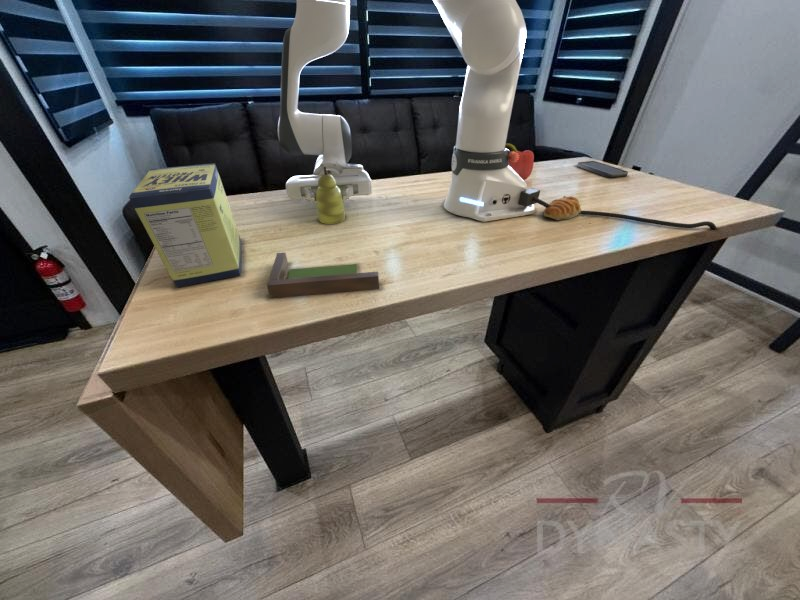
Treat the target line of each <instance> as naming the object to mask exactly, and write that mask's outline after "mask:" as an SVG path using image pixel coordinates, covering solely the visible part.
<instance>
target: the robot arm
mask: <svg viewBox="0 0 800 600" xmlns="http://www.w3.org/2000/svg"><path fill="white" fill-rule="evenodd" d="M432 1H433V3H434V5H435V6H436V8H437V10H438V13H439V14H440V17H441V18H442V20H443V23H444V25H445V26H446V28H447V31H448V33H449V34H450V36H451V38H452V40H453V42H454V44H455V46H456V47H457V49H458V51H459V53H460V55H461V56H462V58H463V60H464V62H465V64H466V65H467V66H466V73H465V77H464V84H463V90H462V96H461V100H460V103H459V108H458V109H459V110H458V119H457V130H456V141H455V145H454V146H453V151H452V155H451V156H452V157H451V178H450V181H449V182H450V183H449V187H448V190H447V194H446V197H445V200H444V203H443V208H444V209H445V210H446V211H448V212H449V213H451V214H453V215H456V216H460V217H464V218H470V219H473V220H475V221H479V222H484V223H485V222H491V221H497V220H503V219H511V218H516V217H523V216H527V215H528V216H530V215H533V214H535V210H536V208H535V204H539V205H540V206H542V207H544V208H545V209H546V208H548V207H550V205H549V204H550V203H547V202H545V201H544V200H542V199H540V194H541V189H537V188H534V187H531V188H528V184H527V182H526V180H523V179H522V178H521V177H520V176H519V175H518V174H517V173H516V172H515V171H514V170H513V169H512V168H511V167H510V166H509V160H510V161H512V162H517V161H516V160H519V159H518V158H519V157H518V156H519V155H518V153H516V152H514V151H513V150H511V151H510V150H509V149H508V148H507V147H505V144H507V139H508V132H509V128H510V120H511V116H512V112H513V111H512V110H513V107H514V100H515V97H516V96H515V94H516V92H517V91H516V90H517V85H518V80H519V76H520V70H521V65H522V61H523V60H522V59H523V54H524V49H525V45H526V44H525V43H526V39H527V26H526V25H527V24H526V21H525V18H524V15H523V12H522V9H521V8H520V6H519V4H518V2H517V0H432ZM350 4H351V0H296V11H295V15H294V16H295V17H294V20H293V23H292V26H291V27H289V28H288V29H286V30H285V32H284V36H283V40H282V50H281V51H282V52H281V66H280V68H281V71H280V101H279V103H280V105H279V117H278V124H277V138H278V141H279V145H280V146H281V148H283V149H284V151H286V152H287V153H288V154H290V155H292V156H306V155H307V156H308V155H309V156H310V155H311V156H318V157H317V159H316V162H315V164H314V169H313V174H308V175H307V174H306V175H294V176H292V177H290V178H289V179H288V180H287V181H286V182H285V191H286V195H287V198H288V199H290V200H305V199H307V200H308V202H316V199H315V193H316V190H317V188H318V187H319V186H318V180H319V178H320V176H322V175H323V174H324V167H326V168H327V174H330V175H332V176H333V177H334V178H335V180H336V186H338V187H339V189H340V190H341V192H342V196H343V201H347V200H350V198H351V197H361V196H370V195H372V192H373V191H372V189H373V188H372V187H373V186H372V179H371V177H370V175H369V173H368V172H367V171H366V170H365V169H364V166H363V165H362V164H357V163H349V161H350V159H351V158H352V154H353V153H352V152H353V151H352V150H353V143H352V141H353V140H352V134H351V127H350V124H349V123H348V121H347V120H346V119H345V118H344V117H343V116H342V115H339V114H337V115H336V114H325V113H323V114H322V113H321V114H319V113H309V112H302V111H300V110H299V108H298V106H299V91H300V90H299V89H300V75H301V72H302V70H303V69H304V67H305V66H306V65H308V64H309V63H311V62H313V61H315V60H318V59H321V58H323V57H326V56H329V55H332V54H333V53H334V52H335V53H336V51H338V50H339V49H340V48H341V47H342V46H343V45H344V44H345V43H346V41H347V38H348V35H349V30H350V18H351V17H350V15H351V5H350ZM578 215H579V216H580V215H582V216H595V217H606V218H607V217H608V218H613V219H614V218H615V219H620V220H621V219H622V220H628V221H634V222H639V223H645V224H652V225H656V226H657V225H658V226H664V227H670V228H671V227H672V228H679V229H697V228H700V227H709V229H710V230H714V231H716V230H718V228H717V226H716V224H715V223H714V222H712V221H709V220H707V221H705V220H704V221H699V222H695V223H682V222H674V221H673V222H672V221H665V220H660V219H653V218H646V217H640V216H634V215H629V214H622V213H616V212H615V213H614V212H608V211H607V212H606V211H596V210H595V211H594V210H581V212H580V213H579V214H578ZM578 215H577V216H578ZM648 351H649V349H644V350H642V351H641V352H640V354H639V356H638V357H637V359H636V360H635V362H634V365H636V366H639V364H640V363H641V362H642V360H643V358H644V356H645V355H646V353H648Z"/></svg>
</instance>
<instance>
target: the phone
mask: <svg viewBox="0 0 800 600" xmlns="http://www.w3.org/2000/svg"><path fill="white" fill-rule="evenodd" d="M576 167H578V168H581V169H583V170H586V171H589V172H592V173H595V174H597V175H600V176H603V177H606V178H611V179H612V178H622V177H627V176H628V175H629V171H627V170H624V169H622V168H618V167H615V166H612V165H609V164H606V163H603V162H600V161H596V160H588V161H587V160H586V161H579V162H577V164H576Z"/></svg>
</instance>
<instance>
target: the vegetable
mask: <svg viewBox="0 0 800 600" xmlns="http://www.w3.org/2000/svg"><path fill="white" fill-rule="evenodd" d="M507 147H509V148H510V149H511V151H514V152H516V153H518V155H519V156H518V157H519V158H518V159H519V160H516V161H517V162H512V161H510V160H509V166H510V167H511V168H512V169H513V170H514V171H515V172H516V173H517V174H518V175H519V176H520V177H521V178H522V179H523V180H524V181H526V180H527V179H528V178H529V177H530V176H531V175H532V172H533V168H534V160H535V155H534V152H533V151H532V150H531V149H528V150H524V151H519V150H517V148H516V146H515V145H513V144H512V143H507V142H506V144H505V148H507Z"/></svg>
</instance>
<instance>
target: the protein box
mask: <svg viewBox="0 0 800 600" xmlns="http://www.w3.org/2000/svg"><path fill="white" fill-rule="evenodd" d="M128 199H129V200H130V202H131V205H132V206H133V208H134V210H135V212H136V214H137V216H138V218H139V220H140V221H141V223H142V225H143V228H144V229H145V230H146V233H147V235H148V237H149V238H150V241H151V242H152V244H153V246H154V248H155V250H156V252H157V253H158V256H159V257H160V260H161V262H162V263H163V265H164V267H165V269H166V270H167V273H168V275H169V276H170V278H171V280H172V282H173V284H174V286H175V288H182V287H187V286H192V285H198V284H202V283H207V282H213V281H218V280H224V279H229V278H235V277H240V276H242V239H241V236H240V232H239V230H238V227H237V223H236V221H235V218H234V215H233V214H234V213H233V212H232V209H231V206H230V203H229V199H228V197H227V194H226V191H225V188H224V185H223V182H222V179H221V176H220V174H219V171H218V168H217V165H216V163H215V162H214V163H204V164H191V165H184V166H183V165H182V166H171V167H158V168H157V167H156V168H149V170H148V172H147V173H146V175H145V176H144V177H143V178H142V180H141V181H140V182H139V183H138V185H137V186H136V187H135V188H134V190H133V191H132V192H131V193H130V195H129V196H128Z"/></svg>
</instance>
